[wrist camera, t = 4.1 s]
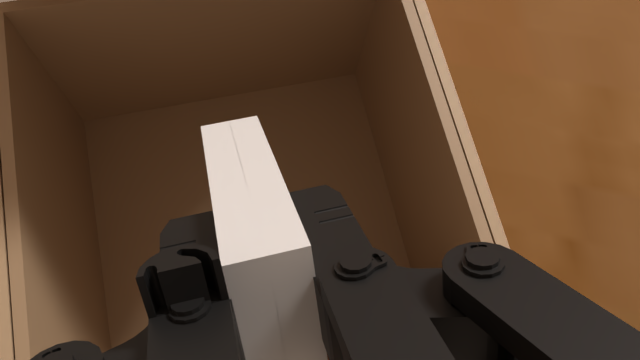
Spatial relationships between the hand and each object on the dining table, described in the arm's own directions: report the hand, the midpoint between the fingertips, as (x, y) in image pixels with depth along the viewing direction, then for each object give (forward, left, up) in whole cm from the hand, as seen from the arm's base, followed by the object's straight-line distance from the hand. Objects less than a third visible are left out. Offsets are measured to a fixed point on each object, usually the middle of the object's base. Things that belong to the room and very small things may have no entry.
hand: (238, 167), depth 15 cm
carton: (0, -6, -26) cm, 26 cm away
